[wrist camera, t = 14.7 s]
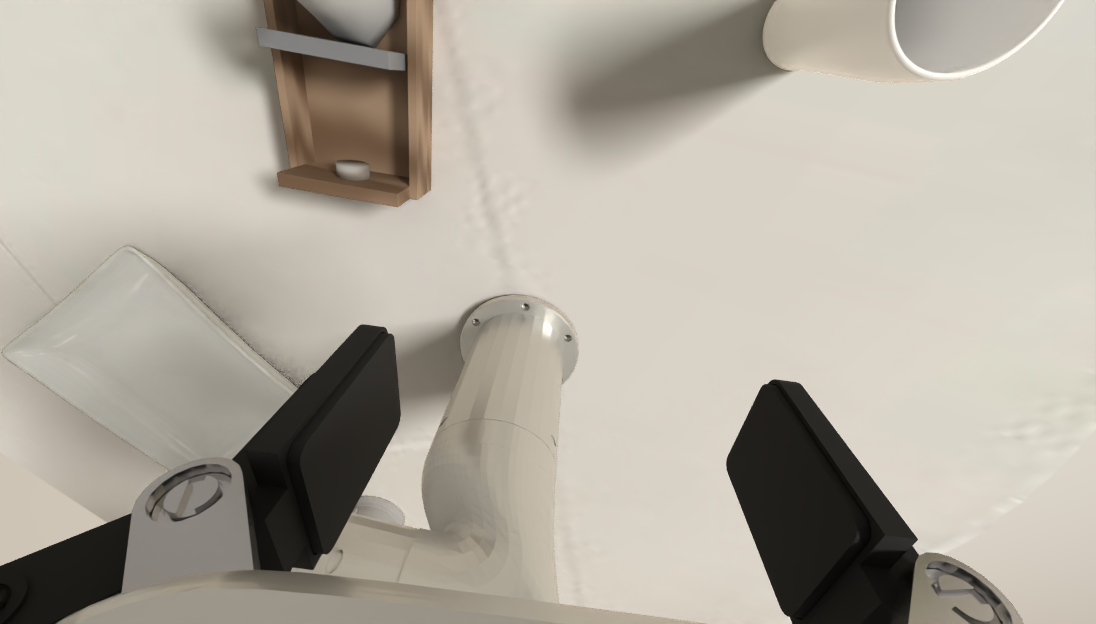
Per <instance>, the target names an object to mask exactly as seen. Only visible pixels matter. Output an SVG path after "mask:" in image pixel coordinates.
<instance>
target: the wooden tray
mask: <svg viewBox="0 0 1096 624" xmlns="http://www.w3.org/2000/svg"><path fill="white" fill-rule="evenodd" d="M264 6H265V12H266V18H267V25H268V29H271V30H277V31H283V32H289V33H295V34H301V35H307V36H312V37H318V38H323V39H328V40H334V41H339V42H345V43H350V44H355V43H351V42H346V41H342V40H338V39H336V38H335V37H334V36H333V35H332V34H331V33H330V32H329V31H328V30H327V29H326V28H325V27H324V26H323V25H322V24H321V23H320V22H319V21H318V20H317V19H316V18H315V17H314V16H313V15H312V14H311V13H310V12H309V11H308V10H307V9H306V8H305V7H304V6H303V5H302V4H300V3H299V2H298V1H297V0H264ZM355 45H359V44H355ZM361 46H364V45H361ZM432 46H433V0H399V17H398V18H397V20H396V21H395V22H394V24H393V25H392V27H391V28H390V29H389V31H388V32H387V33H386V35H385V36H384V38H383V39H382V40H381V42H380V43H379V45H378V46H377V47H376V48H377V49H382V50H388V51H393V52H399V53H404V54H407V55H408V71H404V70H388V69H382V68H377V67H372V66H366V65H361V64H355V63H350V62H344V61H339V60H334V59H328V58H323V57H317V56H312V55H306V54H301V53H296V52H290V51H285V50H279V49H274V48H271V50H272V56H273V62H274V68H275V75H276V81H277V87H278V94H279V100H280V106H281V112H282V119H283V125H284V131H285V138H286V144H287V150H288V156H289V163H290V169H287V170H284V171H280V172H277V176H278V182H279V186H281V187H287V188H292V189H298V190H304V191H309V192H315V193H321V194H326V195H332V196H337V197H343V198H349V199H354V200H360V201H366V202H371V203H377V204H382V205H388V206H394V207H399V206H400V205H401V204H403V203H404V202H406V201H407V200H409V199H414V200H418V199H419V198H421V197H422V196H423V195H425V194H426V193H427V192H429V191H430V190H431V134H432ZM366 47H368V46H366Z"/></svg>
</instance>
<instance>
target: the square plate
mask: <svg viewBox="0 0 1096 624" xmlns="http://www.w3.org/2000/svg"><path fill="white" fill-rule="evenodd" d="M1 353H2V355H3V356H4V357H5V358H6V359H7V360H8V361H10V362H11V363H12V364H14V365H15V366H17V367H18V368H20V369H21V370H23V371H24V372H26V373H27V374H29V375H30V376H31V377H33V378H34V379H36V380H37V381H39V382H40V383H41V384H43V385H44V386H46V387H47V388H48V389H50V390H51V391H53V392H54V393H55V394H57V395H58V396H60V397H61V398H62V399H64V400H65V401H67V402H68V403H69V404H71V405H72V406H74V407H75V408H76V409H78V410H79V411H81V412H82V413H84V414H85V415H87V416H88V417H90V418H91V419H93V420H94V421H96V422H97V423H99V424H100V425H101V426H103V427H105V428H106V429H108V430H109V431H111V432H112V433H113V434H115V435H116V436H118V437H119V438H121V439H122V440H124V441H125V442H127V443H129V444H130V445H132V446H133V447H135V448H136V449H138V450H139V451H141V452H142V453H144V454H145V455H147V456H148V457H150V458H151V459H153V460H154V461H156V462H157V463H159V464H161V465H162V466H164V467H165V468H167V469H169V470H172V469H174V468H176V467H178V466H181V465H183V464H186V463H188V462H190V461H195V460H199V459H203V458H211V457H222V458H227V459H231V460H232V459H233V458H234V457H235V456H236V455H237V453H238V452H239V451H240V450H241V449H242V448H243V447H244V446H245V445H246V444H247V443H248V442H249V441H250V440H251V438H252V437H253V436H254V435H255V434H256V433H257V432H258V431H259V430H260V429H261V428H262V427H263V426H264V425H265V423H266V422H267V421H268V420H269V419H270V418H271V417H272V416H273V415H274V414H275V413H276V412H277V411H278V410H279V408H280V407H281V406H282V405H283V404H284V403H285V402H286V401H287V400H288V399H289V398H290V397H291V396H292V395H293V394H294V392H295V391H296V390H297V389H298V388H297V387H296V386H295V385H293V384H292V383H291V382H290V381H289V380H288V379H286V378H285V377H284V376H283V375H282V374H280V373H279V372H278V371H277V370H276V369H275V368H273V367H272V366H271V365H270V364H269V363H268V362H266V361H265V360H264V359H263V358H262V357H261V356H260V355H258V354H257V353H256V352H255V351H254V350H253V349H252V348H250V347H249V346H248V345H247V344H246V343H245V342H244V341H243V340H242V339H241V338H240V337H239V336H237V335H236V334H235V333H234V332H233V331H232V330H231V329H230V328H229V327H228V326H227V325H226V324H225V323H224V322H223V321H222V320H220V319H219V318H218V317H217V316H216V315H215V314H214V313H213V312H212V311H211V310H210V309H209V308H208V307H207V306H206V305H205V304H204V303H203V302H202V301H201V300H200V299H199V298H198V297H197V296H196V295H194V294H193V293H192V292H191V291H190V290H189V289H188V288H187V287H186V286H185V285H184V284H182V283H181V282H180V281H179V280H178V279H177V278H175V277H174V276H173V275H172V274H171V273H170V272H168V271H167V270H166V269H165V268H164V267H162V266H161V265H160V264H158V263H157V262H156V261H154V260H153V259H152V258H150V257H148V256H146V255H144V254H142V253H140V252H139V251H138V250H136V249H135V248H133V247H130V246H124V247H122V248H120V249H119V250H118V251H116V252H115V253H114V254H113V255H111V256H110V257H109V258H108V259H107V260H106V261H105V262H104V263H102V264H101V265H100V266H99V267H98V268H97V269H96V270H95V271H94V272H93V273H92V274H91V275H90V276H89V277H88V278H86V279H85V280H84V281H83V282H82V283H81V284H80V285H79V286H78V287H77V288H76V289H75V290H74V291H72V292H71V293H70V294H69V295H68V296H67V297H66V298H65V299H64V300H63V301H61V302H60V303H59V304H58V305H57V306H56V307H55V308H54V309H52V310H51V311H50V312H49V313H47V314H46V315H45V316H44V317H43V318H41V319H40V320H39V321H38V322H36V323H35V324H34V325H32V326H31V327H30V328H28V329H27V330H26V331H25V332H23V333H22V334H21V335H19V336H18V337H17V338H16V339H14V340H13V341H12V342H11V343H9V344H8V345H7V346H6V347H5V348H4V349H3V350H2V352H1Z"/></svg>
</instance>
